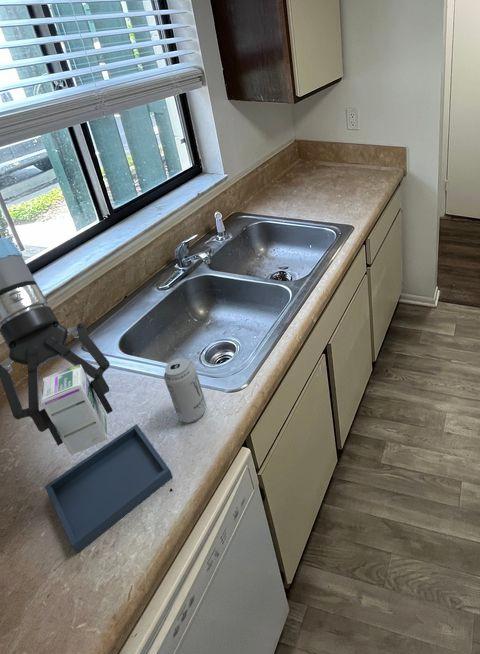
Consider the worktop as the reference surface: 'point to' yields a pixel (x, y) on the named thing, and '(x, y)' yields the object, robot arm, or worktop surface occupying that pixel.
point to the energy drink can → (185, 389)
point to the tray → (107, 486)
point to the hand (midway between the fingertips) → (86, 427)
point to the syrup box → (74, 409)
